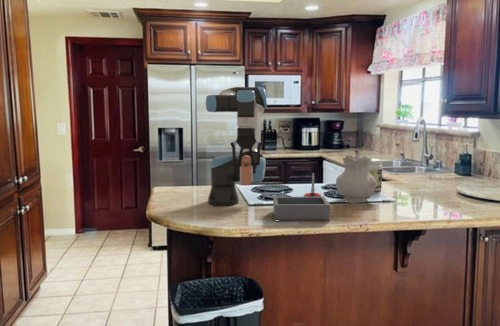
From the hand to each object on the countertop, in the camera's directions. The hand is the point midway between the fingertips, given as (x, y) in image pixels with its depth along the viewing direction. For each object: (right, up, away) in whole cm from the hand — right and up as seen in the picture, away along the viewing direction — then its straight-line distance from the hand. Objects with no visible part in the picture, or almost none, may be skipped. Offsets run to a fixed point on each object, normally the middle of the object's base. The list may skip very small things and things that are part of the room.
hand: (246, 180), depth 184 cm
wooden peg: (0, -1, 0) cm, 1 cm away
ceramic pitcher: (+54, -11, +30) cm, 63 cm away
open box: (+24, -16, +2) cm, 28 cm away
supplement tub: (+69, -7, +54) cm, 88 cm away
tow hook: (+34, -10, +39) cm, 53 cm away
